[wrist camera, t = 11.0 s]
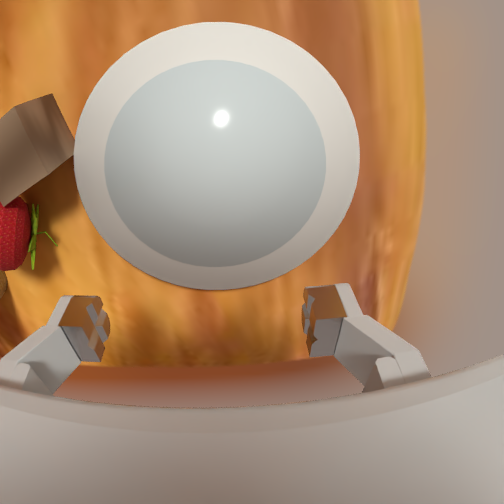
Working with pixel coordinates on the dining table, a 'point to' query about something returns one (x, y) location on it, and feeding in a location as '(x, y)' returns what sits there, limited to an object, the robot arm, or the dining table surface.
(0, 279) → the drinking glass
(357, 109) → the dining table surface
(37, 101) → the walnut block
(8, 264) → the strawberry
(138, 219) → the plate
